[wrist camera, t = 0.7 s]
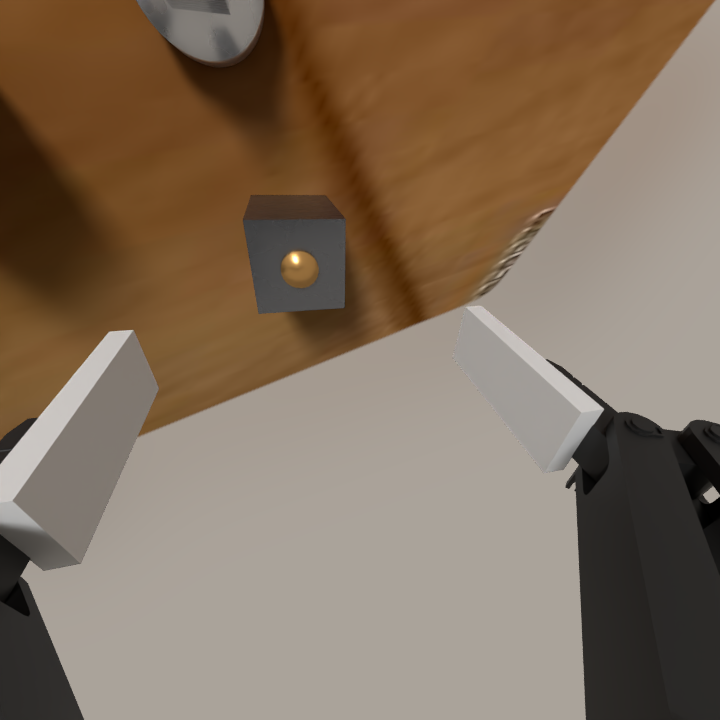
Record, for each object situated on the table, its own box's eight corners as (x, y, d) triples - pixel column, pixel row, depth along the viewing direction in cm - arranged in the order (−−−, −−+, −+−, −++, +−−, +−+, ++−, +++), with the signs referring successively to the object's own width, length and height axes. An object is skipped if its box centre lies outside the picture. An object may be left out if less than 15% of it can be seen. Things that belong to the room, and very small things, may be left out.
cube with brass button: (261, 268, 29) (258, 315, 21) (251, 195, 25) (242, 221, 18) (327, 265, 30) (345, 309, 23) (325, 195, 26) (346, 219, 19)
